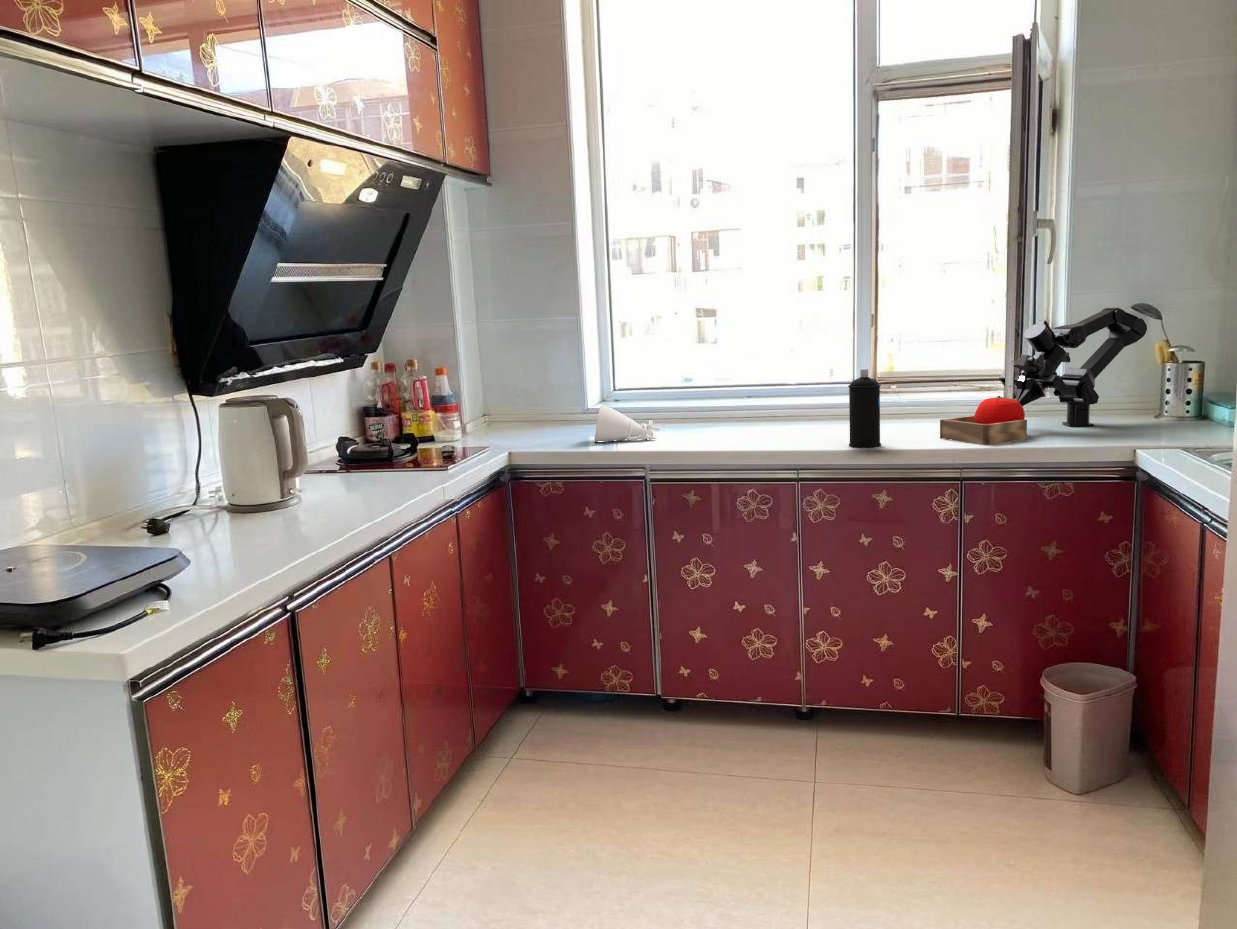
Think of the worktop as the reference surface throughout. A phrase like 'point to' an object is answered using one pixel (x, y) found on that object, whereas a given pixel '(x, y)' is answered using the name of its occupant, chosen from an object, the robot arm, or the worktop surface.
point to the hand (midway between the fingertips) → (1015, 407)
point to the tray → (982, 430)
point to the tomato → (999, 411)
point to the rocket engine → (620, 427)
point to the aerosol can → (864, 411)
